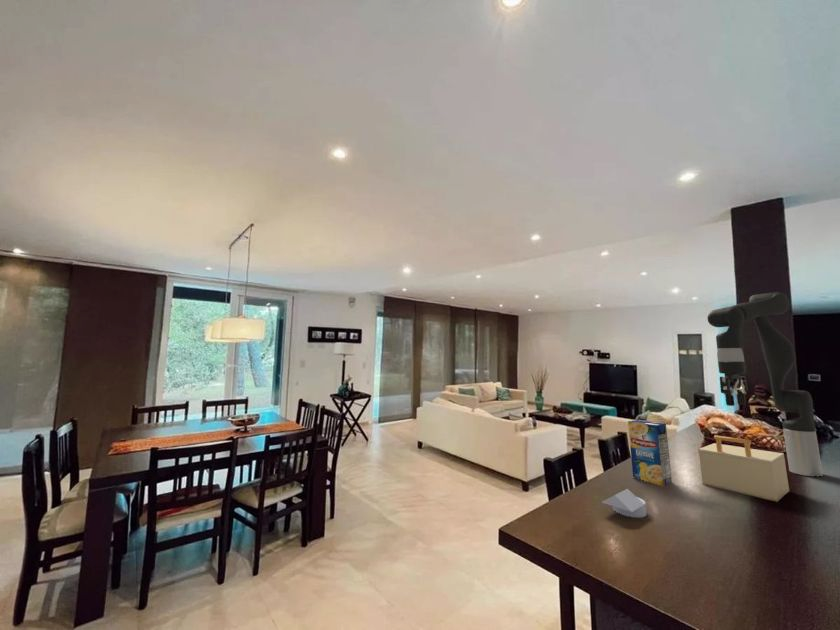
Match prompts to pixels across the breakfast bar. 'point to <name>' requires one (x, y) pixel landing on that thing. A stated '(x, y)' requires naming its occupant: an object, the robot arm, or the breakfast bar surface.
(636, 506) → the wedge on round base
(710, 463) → the carton
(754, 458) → the lid flap
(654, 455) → the blue cardboard box
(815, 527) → the breakfast bar surface
